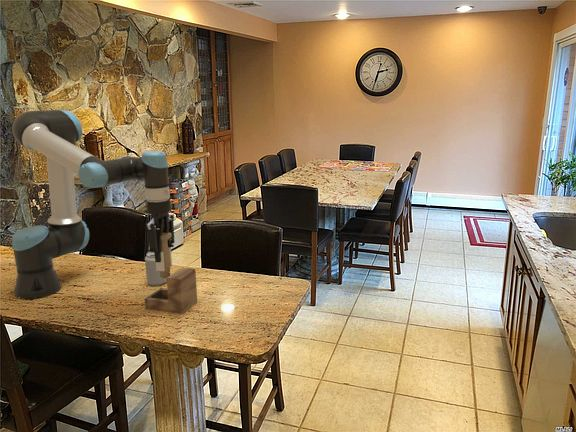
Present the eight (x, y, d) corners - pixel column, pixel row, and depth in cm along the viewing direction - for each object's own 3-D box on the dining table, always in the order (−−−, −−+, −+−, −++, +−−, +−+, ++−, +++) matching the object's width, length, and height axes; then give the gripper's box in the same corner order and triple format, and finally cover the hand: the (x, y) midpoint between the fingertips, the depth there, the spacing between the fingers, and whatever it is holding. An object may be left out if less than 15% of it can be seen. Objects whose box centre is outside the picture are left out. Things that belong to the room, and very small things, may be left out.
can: (142, 285, 177) (140, 254, 174) (155, 278, 183) (152, 249, 181) (159, 287, 174) (156, 257, 171) (171, 280, 181) (169, 251, 178)
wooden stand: (145, 308, 157) (142, 275, 154) (162, 296, 166) (159, 264, 163) (182, 313, 152) (180, 279, 150) (197, 301, 162) (195, 268, 159)
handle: (170, 280, 154) (166, 236, 151) (153, 278, 156) (148, 235, 152) (177, 275, 159) (173, 232, 155) (160, 273, 160) (156, 231, 157)
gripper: (153, 205, 142) (160, 278, 147) (182, 195, 158) (187, 261, 163) (132, 204, 144) (139, 276, 150) (162, 194, 160) (168, 259, 165)
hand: (164, 268), depth 156 cm, fingers closed on handle, 4 cm apart
